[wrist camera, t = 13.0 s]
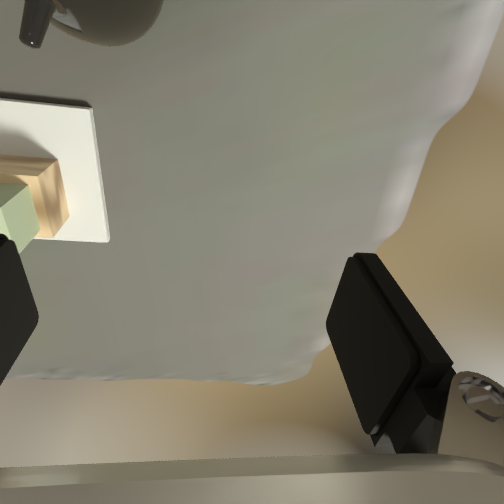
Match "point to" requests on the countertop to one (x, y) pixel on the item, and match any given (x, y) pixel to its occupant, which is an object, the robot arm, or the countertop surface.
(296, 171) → the countertop surface
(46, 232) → the oak block
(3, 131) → the building board
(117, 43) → the pump dispenser
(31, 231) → the sage cube
